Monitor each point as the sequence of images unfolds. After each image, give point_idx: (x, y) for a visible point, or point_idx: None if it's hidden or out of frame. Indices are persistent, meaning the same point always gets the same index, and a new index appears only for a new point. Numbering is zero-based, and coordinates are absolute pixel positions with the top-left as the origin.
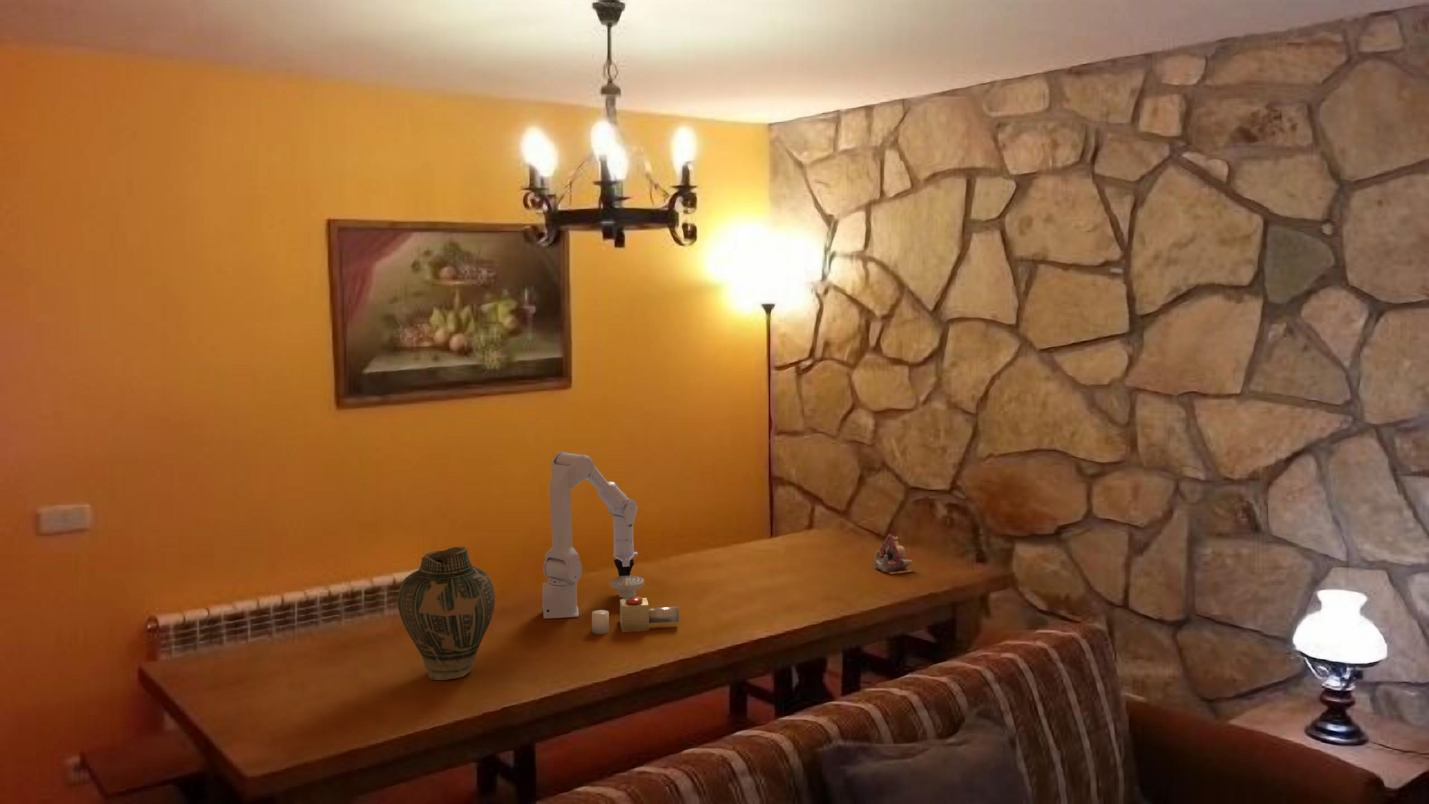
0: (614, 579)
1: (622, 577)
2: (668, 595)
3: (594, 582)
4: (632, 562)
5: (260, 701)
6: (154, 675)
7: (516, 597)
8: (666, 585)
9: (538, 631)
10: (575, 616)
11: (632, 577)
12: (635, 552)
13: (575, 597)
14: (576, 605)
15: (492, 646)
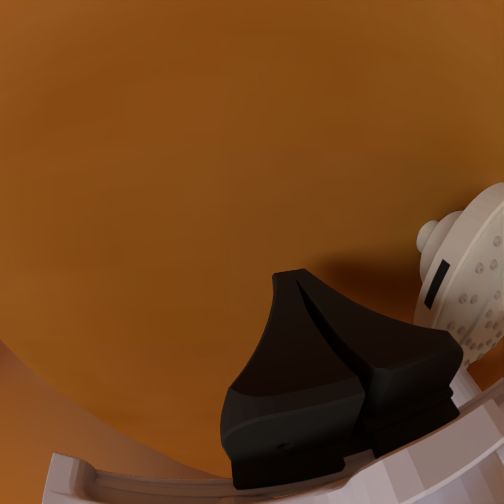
0: (471, 357)
1: (473, 331)
2: (356, 13)
3: (122, 383)
4: (443, 365)
5: None
6: None
7: None
8: (138, 15)
9: (483, 378)
10: None
11: (500, 271)
12: (419, 498)
13: (479, 392)
14: (464, 376)
15: None
